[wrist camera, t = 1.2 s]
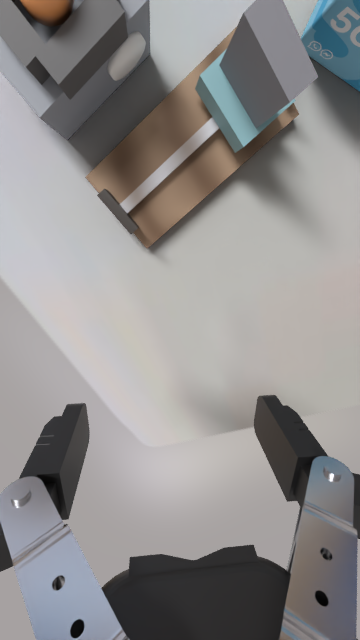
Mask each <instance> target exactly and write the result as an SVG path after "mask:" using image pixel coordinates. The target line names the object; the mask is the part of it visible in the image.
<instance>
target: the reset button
mask: <svg viewBox="0 0 360 640" xmlns="http://www.w3.org/2000/svg"><path fill="white" fill-rule="evenodd" d="M20 1H21V3H22V5H23V6H24V8H25V9H26V11H27V12H28V13H29V15H30V16H31V17H32V18H33V19H34V20H36V21H37V22H39V23H40V24H43V25H45V26H50V27H53V26H59V25H61V24H62V23H64V22H65V21H66V20H67V19H68V18H69V16H70V14H71V12H72V9H73V5H74V0H20Z"/></svg>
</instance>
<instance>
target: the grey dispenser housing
mask: <svg viewBox="0 0 360 640" xmlns="http://www.w3.org/2000/svg"><path fill="white" fill-rule="evenodd" d="M149 55H150V12H149V0H74V5H73V9H72V12H71V14H70V16H69V18H68V19H67V20H66V21H65V22H64V23H62V24H61V25H59V26H53V27H50V26H45V25H43V24H40V23H39V22H37V21H36V20H34V19H33V18H32V17H31V16H30V15H29V13H28V12H27V11H26V9H25V8H24V6H23V5H22V3H21V1H20V0H0V72H1V73H2V74H3V75H4V77H5V78H6V79H7V80H8V81H9V82H10V84H11V85H12V86H13V87H14V88H15V89H16V91H17V92H18V93H19V94H20V95H21V96H22V98H23V99H24V100H25V101H26V102H27V103H28V105H29V106H30V107H31V108H32V109H33V110H34V112H35V113H36V114H37V115H38V116H39V117H40V118H41V119H42V120H43V121H44V122H46V123H47V124H48V125H49V126H51V127H52V128H53V129H54V130H55V131H57V132H58V133H59V134H60V135H62V136H63V137H64V138H65V139H67V140H68V139H69V138H70V137H71V136H72V135H73V134H74V133H75V132H76V131H77V130H78V129H79V128H80V127H81V125H82V124H83V123H84V122H85V121H86V120H87V119H88V118H89V117H90V116H91V115H92V114H93V113H94V112H95V111H96V110H97V109H98V108H99V107H100V106H101V105H102V104H103V103H104V101H105V100H106V99H107V98H108V97H109V96H110V95H111V94H112V93H113V92H114V91H115V90H116V89H117V88H118V87H119V86H120V85H121V84H122V83H123V82H124V81H125V80H126V79H127V77H128V76H129V75H130V74H131V73H132V72H133V71H134V70H135V69H136V68H137V67H138V66H139V65H140V64H141V63H142V62H143V61H144V60H145V59H146V58H147V57H148V56H149Z"/></svg>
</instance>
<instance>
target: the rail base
mask: <svg viewBox="0 0 360 640" xmlns="http://www.w3.org/2000/svg"><path fill="white" fill-rule="evenodd" d="M236 28H237V27H236ZM236 28H235V29H234V30H233V31H232V32H231V33H230V34H229V35H228V36H227V37H226V38H225V39H224V40H223V41H222V42H221V43H220V44H219V45H218V46H217V47H216V48H215V49H214V50H213V51H212V52H211V53H210V54H209V55H208V56H207V57H206V58H205V59H204V60H203V61H202V62H201V63H200V64H199V65H198V66H197V67H196V68H195V69H194V70H193V71H192V72H191V73H190V74H189V75H188V76H187V77H186V78H185V79H184V80H183V81H182V82H181V83H180V84H179V85H178V86H177V87H176V88H175V89H174V90H173V91H172V92H171V93H170V94H169V95H168V96H167V97H166V98H165V99H164V100H163V101H162V102H161V103H160V104H159V105H158V106H157V107H156V108H155V109H154V110H153V111H152V112H150V113H149V114H148V115H147V116H146V117H145V118H144V119H143V120H142V121H141V122H140V123H139V124H138V125H137V126H136V127H135V128H134V129H133V130H132V131H131V132H130V133H129V134H128V135H127V136H126V137H125V138H124V139H123V140H122V141H121V142H120V143H119V144H118V145H117V146H116V147H115V148H114V149H113V150H112V151H111V152H110V153H109V154H108V155H107V156H106V157H105V158H104V159H103V160H102V161H101V162H100V163H99V164H98V165H97V166H96V167H95V168H94V169H93V170H92V171H91V172H90V173H89V174H88V175H87V176H86V179H87V180H88V181H89V182H90V183H91V184H92V185H93V187H94V188H95V189H96V190H97V191H98V192H99V194H98V195H97V196H98V197H99V198H100V199H101V200H102V201H103V203H104V204H105V205H106V206H107V207H108V208H109V210H110V211H111V212H112V213H113V214H114V215H115V216H116V218H117V219H118V220H119V221H120V222H121V223H122V225H123V226H124V227H125V228H126V229H127V230H128V231H129V233H130V234H132V233H134V234H135V235H136V236H137V238H138V239H139V240H140V241H141V242H142V243H143V245H144V246H145V247H146V248H149V247H150V246H151V245H152V244H153V243H154V242H155V241H156V240H158V239H159V238H160V237H161V236H162V235H163V234H164V233H166V232H167V231H168V230H169V229H170V228H171V227H172V226H173V225H175V224H176V223H177V222H178V221H179V220H180V219H181V218H182V217H184V216H185V215H186V214H187V213H188V212H189V211H190V210H192V209H193V208H194V207H195V206H196V205H197V204H198V203H199V202H201V201H202V200H203V199H204V198H205V197H206V196H207V195H208V194H210V193H211V192H212V191H213V190H214V189H215V188H216V187H218V186H219V185H220V184H221V183H222V182H223V181H224V180H225V179H227V178H228V177H229V176H230V175H231V174H232V173H233V172H234V171H236V170H237V169H238V168H239V167H240V166H241V165H242V164H244V163H245V162H246V161H247V160H248V159H249V158H250V157H251V156H253V155H254V154H255V153H256V152H257V151H258V150H259V149H260V148H262V147H263V146H264V145H265V144H266V143H267V142H268V141H269V140H271V139H272V138H273V137H274V136H275V135H276V134H277V133H279V132H280V131H281V130H282V129H283V128H284V127H285V126H286V125H288V124H289V123H290V122H291V121H292V120H293V119H294V118H295V117H297V116H298V115H299V113H298V111H297V109H296V107H295V105H294V103H292V104H291V105H290V106H289V107H288V108H287V109H286V110H285V111H283V112H282V113H281V114H280V115H279V116H278V117H277V118H276V119H274V120H273V121H272V122H271V123H270V124H269V125H268V126H267V127H266V128H264V129H263V130H262V131H261V132H260V133H259V134H258V135H257V136H256V137H254V138H253V139H252V140H251V141H250V142H249V143H248V144H247V145H246V146H244V147H243V148H242V149H240V150H239V151H237V152H236V153H235V152H234V150H233V149H232V147H231V146H230V144H229V142H228V141H227V139H226V138H225V136H224V134H223V133H222V131H221V130H220V128H219V126H218V125H217V123H216V122H215V120H214V118H213V117H212V115H211V114H210V112H209V111H208V109H207V107H206V106H205V104H204V103H203V101H202V99H201V98H200V96H199V95H198V93H197V91H196V90H195V87H196V85H197V82H198V79H199V76H200V75H201V74H202V73H203V72H204V71H205V70H206V69H207V68H208V67H209V66H210V65H211V64H212V63H213V62H214V61H215V60H216V59H217V58H218V57H219V56H220V55H221V54H222V53H223V52H224V51H225V50H226V49H227V47H228V45H229V43H230V41H231V39H232V37H233V35H234V32H235V30H236Z"/></svg>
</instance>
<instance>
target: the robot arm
mask: <svg viewBox="0 0 360 640" xmlns="http://www.w3.org/2000/svg"><path fill="white" fill-rule="evenodd" d="M254 429H255V433H256V436H257V438H258V440H259V442H260V444H261V446H262V449H263V451H264V453H265V454H266V457H267V459H268V461H269V464H270V466H271V468H272V470H273V472H274V474H275V476H276V479H277V481H278V483H279V485H280V487H281V489H282V491H283V493H284V495H285V497H286V500H287V501H298V503H299V505H300V510H299V515H298V519H297V524H296V529H295V533H294V538H293V543H292V548H291V553H290V557H289V561H288V566H287V570H285V569H284V568H282V567H281V566H279V565H277V564H276V563H274V562H272V561H270V560H267V559H265V558H262V557H258V556H257V554H256V551H255V548H254V545H247V546H237V547H227V548H223V549H220V550H218V551H216V552H213V553H212V554H209V555H207V556H204V557H202V558H200V559H198V560H187V559H183V558H178V557H173V556H168V555H163V554H159V555H147V556H138V557H130V564H129V569H128V570H126V571H123V572H122V573H120V574H118V575H116V576H115V577H114V578H112V579H111V580H110V581H108V582H107V583H106V584H105V585H104V586H103V587H102V588H100V585H99V583H98V581H97V579H96V577H95V575H94V573H93V572H92V570H91V568H90V566H89V564H88V562H87V560H86V558H85V556H84V554H83V552H82V550H81V549H80V546H79V545H78V543H77V541H76V539H75V537H74V535H73V533H72V531H71V529H70V527H69V526H68V525H67V524H66V525H65V524H64V523H63V521H62V520H66V519H69V515H70V511H71V507H72V504H73V500H74V496H75V492H76V489H77V485H78V481H79V477H80V474H81V470H82V466H83V463H84V459H85V455H86V451H87V447H88V443H89V424H88V416H87V409H86V404H85V403H81V404H68V405H67V406H66V408H65V410H64V412H63V415H62V416H58V417H53V418H52V419H51V420H50V421H49V422H48V423H47V424H46V425H45V426H44V429H43V431H42V433H41V435H40V438H39V439H38V441H37V443H36V446H35V447H34V449H33V451H32V453H31V455H30V457H29V459H28V461H27V463H26V465H25V467H24V469H23V472H22V473H21V475H20V478H19V479H18V480H16V481H14V482H13V483H11V484H10V485H9V486H7V487H6V488H5V489H4V490H3V491H2V492H1V494H0V572H1V571H3V570H5V569H8V568H10V567H12V566H14V569H15V572H16V576H17V579H18V582H19V586H20V589H21V592H22V595H23V598H24V602H25V605H26V608H27V612H28V615H29V618H30V621H31V625H32V628H33V631H34V635H35V637H36V640H358V639H357V638H356V620H357V542H358V539H360V475H359V474H354V473H352V472H351V471H350V470H349V469H348V467H347V466H345V465H344V464H343V463H341V462H340V461H338V460H336V459H334V458H331V457H328V456H327V454H326V452H325V451H324V450H323V448H322V447H321V446H320V444H319V443H318V441H317V440H316V439H315V437H314V436H313V434H312V433H311V432H310V431H309V430H308V427H307V426H306V425H305V423H303V421H302V419H301V418H300V416H299V415H298V414H297V412H295V411H294V410H293V409H291V408H290V407H289V406H283V405H282V404H281V402H280V401H279V399H278V398H277V396H275V395H266V396H259V397H258V399H257V405H256V412H255V419H254Z"/></svg>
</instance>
